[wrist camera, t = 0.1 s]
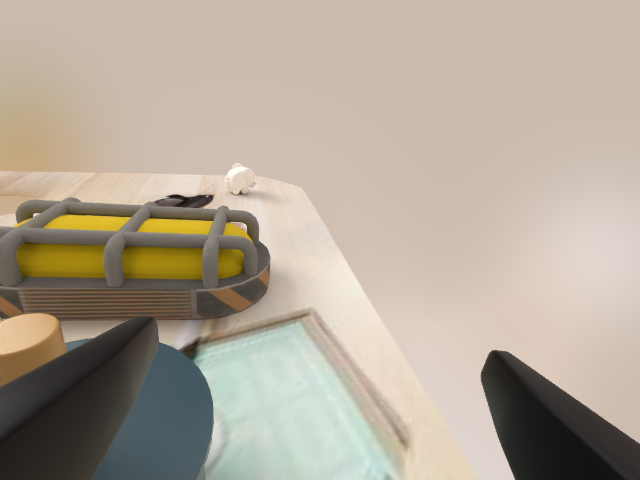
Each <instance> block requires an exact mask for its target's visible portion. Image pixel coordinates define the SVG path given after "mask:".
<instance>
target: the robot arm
mask: <svg viewBox="0 0 640 480" xmlns="http://www.w3.org/2000/svg"><path fill="white" fill-rule="evenodd" d="M158 345H159V336H158V327H157V320H156V318H155V317H154V316H147V315H138V316H136V317H134V318H132V319H130V320H128V321H126V322H124V323H122V324H120V325H118V326H116V327H114V328H113V329H111V330H109V331H107V332H105V333H103V334H101V335H99V336H97V337H95V338H93V339H91V340H89V341H88V342H86V343H84V344H82V345H80V346H78V347H76V348H74V349H72V350H70V351H68V352H66V353H65V354H63V355H61V356H59V357H57V358H55V359H53V360H51V361H49V362H47V363H45V364H43V365H41V366H40V367H38V368H36V369H34V370H32V371H30V372H28V373H26V374H24V375H22V376H20V377H18V378H16V379H15V380H13V381H11V382H9V383H7V384H5V385H3V386H1V387H0V480H92V478H93V476H94V474H95V473H96V471H97V469H98V467H99V465H100V464H101V462H102V460H103V458H104V457H105V455H106V453H107V451H108V449H109V448H110V446H111V444H112V442H113V441H114V439H115V437H116V435H117V433H118V432H119V430H120V428H121V426H122V425H123V423H124V421H125V419H126V417H127V416H128V414H129V412H130V410H131V408H132V406H133V404H134V402H135V400H136V398H137V396H138V393H139V391H140V389H141V386H142V384H143V382H144V380H145V377H146V375H147V373H148V370H149V368H150V366H151V363H152V361H153V359H154V356H155V354H156V352H157V349H158ZM481 382H482V385H483V389H484V392H485V396H486V399H487V402H488V406H489V409H490V412H491V415H492V419H493V422H494V425H495V429H496V432H497V435H498V438H499V440H500V443H501V446H502V448H503V451H504V453H505V456H506V458H507V461H508V463H509V466H510V468H511V470H512V473H513V475H514V478H515V480H640V444H639V443H637V442H636V441H635V440H633V439H632V438H630V437H629V436H628V435H626V434H625V433H623V432H622V431H620V430H619V429H618V428H616V427H615V426H613V425H612V424H610V423H609V422H608V421H606V420H604V419H603V418H602V417H600V416H599V415H598V414H596V413H595V412H593V411H592V410H590V409H589V408H588V407H586V406H585V405H583V404H582V403H580V402H579V401H578V400H576V399H575V398H573V397H572V396H570V395H569V394H567V393H566V392H565V391H563V390H562V389H560V388H559V387H557V386H556V385H555V384H553V383H552V382H550V381H549V380H547V379H546V378H545V377H543V376H542V375H540V374H539V373H537V372H536V371H535V370H533V369H532V368H530V367H529V366H527V365H526V364H525V363H523V362H522V361H520V360H519V359H518V358H516V357H515V356H513V355H512V354H510V353H509V352H506V351H497V350H493V351H491V352H490V353H489V355H488V358H487V360H486V362H485V364H484V367H483V369H482V372H481Z"/></svg>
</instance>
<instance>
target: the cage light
mask: <svg viewBox="0 0 640 480" xmlns="http://www.w3.org/2000/svg"><path fill="white" fill-rule="evenodd" d="M34 213H40V214H39V215H37V216H35V217H34V218H33V214H34ZM67 214H70V215H67ZM86 215H92V216H86ZM106 216H114V217H106ZM128 217H131V218H128ZM173 219H179V220H173ZM16 220H17V225H15V226H13V227H0V317H1V318H12V317H15V316H19V315H24V314H30V313H45V314H50V315H52V316H54V317H56V318H57V319H58V320H130V319H132V318H134V317H136V316H138V315H147V316H154V317H155V318H156V320H175V319H207V318H217V317H223V316H226V315H230V314H233V313H236V312H240V311H242V310H244V309H246V308H248V307H249V306H251V305H253V304H255V303H256V302H258V301H259V299H260V298H261V297H262V296H263V295H264V294H265V293H266V291H267V287H268V284H269V273H270V254H269V251H268V249H267V247H265V246H264V245H263V244H262V243H261V242H260V241H259V224H258V221H257V219H256V218H255V217H254V216H253V215H252V214H251V213H249V212H246V211H239V210H229V208H228V207H226V206H220V207H219V208H218V209H200V208H181V207H162V206H157V204H155V203H153V202H147V203H145V204H144V205H143V206H142V205H123V204H104V203H84V202H81V201H80V200H78V199H76V198H67V199H65V200H63V201H45V200H30V201H26V202H24V203H22V204H21V205H20V206H19V207H18V208H17V211H16ZM195 220H201V221H195ZM230 222H242V223H245V224H246V225H247V233H246V232H245V231H244V230H243V229H241V228H240V227H238V226H236V225H234V224H231V223H230Z"/></svg>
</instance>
